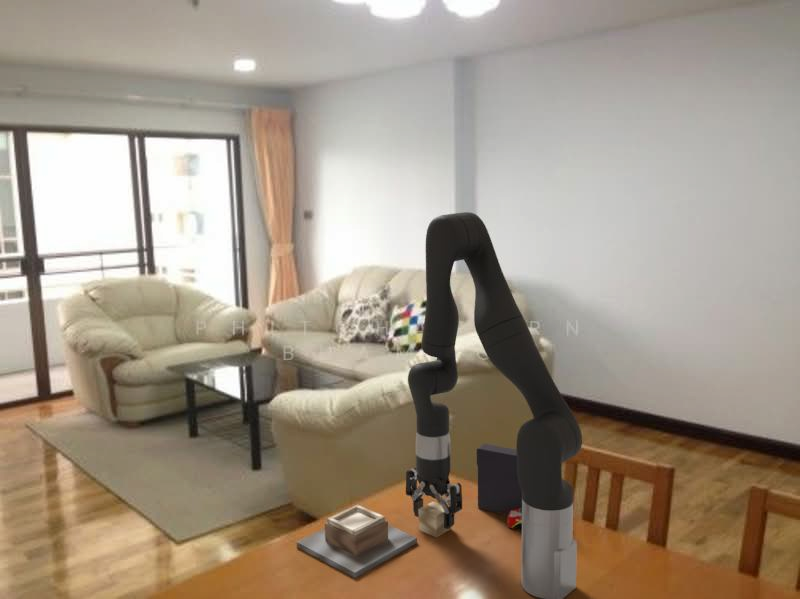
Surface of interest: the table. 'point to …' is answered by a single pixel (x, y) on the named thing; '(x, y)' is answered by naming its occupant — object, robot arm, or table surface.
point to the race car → (515, 519)
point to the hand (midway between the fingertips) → (433, 521)
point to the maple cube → (432, 519)
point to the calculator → (498, 479)
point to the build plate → (361, 559)
